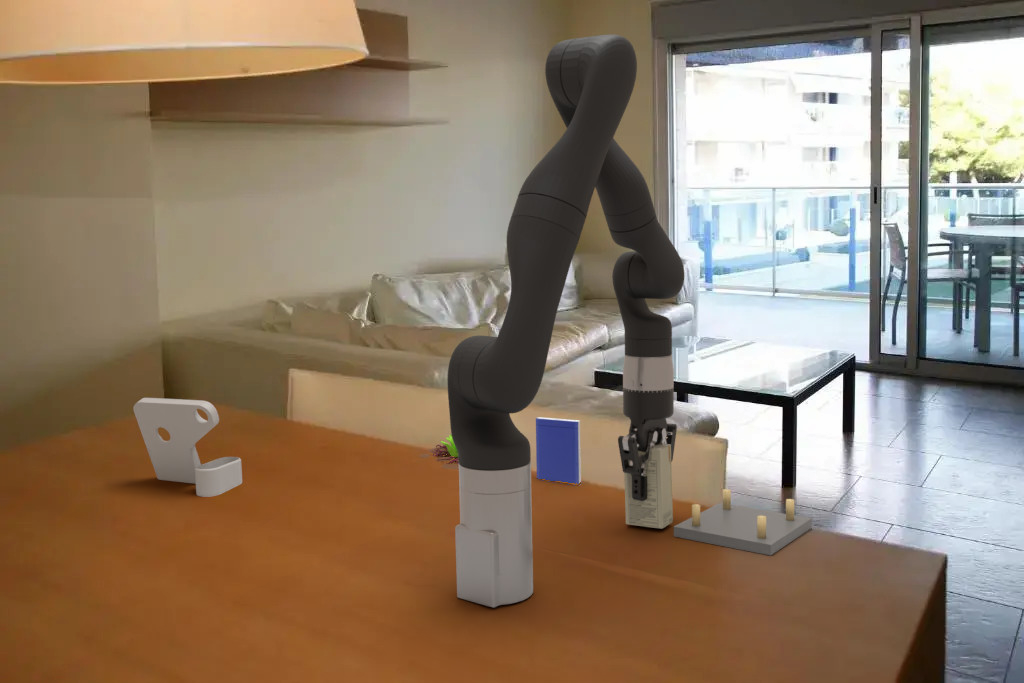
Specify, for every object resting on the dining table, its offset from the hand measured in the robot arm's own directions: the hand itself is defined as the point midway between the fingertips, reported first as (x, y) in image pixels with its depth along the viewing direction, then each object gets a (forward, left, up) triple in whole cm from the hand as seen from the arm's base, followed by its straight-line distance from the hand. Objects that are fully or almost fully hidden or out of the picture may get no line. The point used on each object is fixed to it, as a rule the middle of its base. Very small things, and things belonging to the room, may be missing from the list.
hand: (648, 495), depth 147 cm
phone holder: (-29, +75, -5) cm, 81 cm away
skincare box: (0, 0, -5) cm, 5 cm away
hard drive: (+10, +24, -5) cm, 26 cm away
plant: (+14, +48, -5) cm, 51 cm away
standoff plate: (+5, -13, -5) cm, 15 cm away
